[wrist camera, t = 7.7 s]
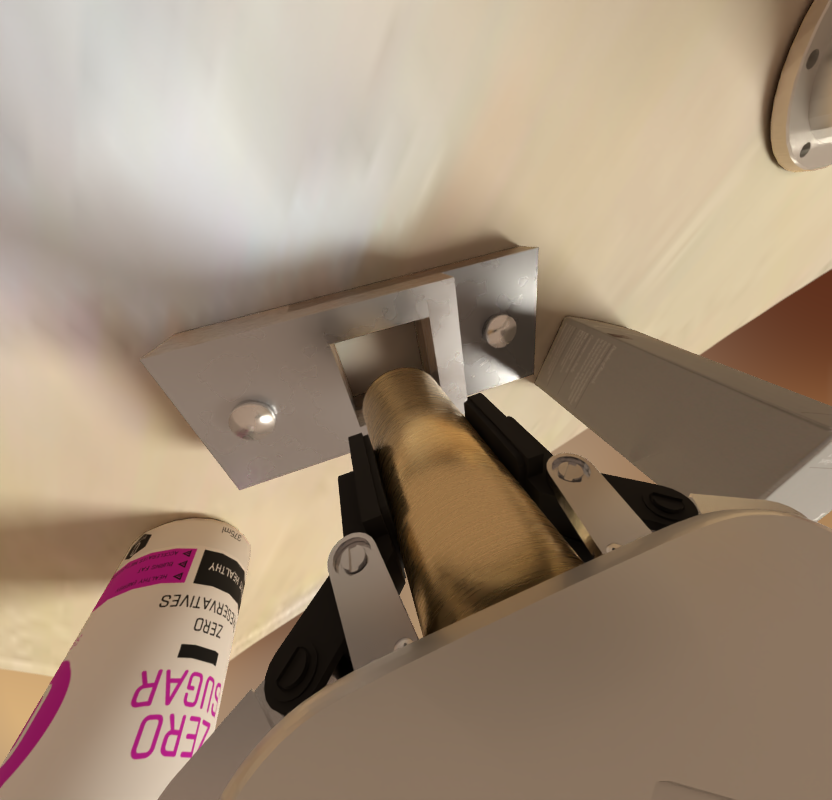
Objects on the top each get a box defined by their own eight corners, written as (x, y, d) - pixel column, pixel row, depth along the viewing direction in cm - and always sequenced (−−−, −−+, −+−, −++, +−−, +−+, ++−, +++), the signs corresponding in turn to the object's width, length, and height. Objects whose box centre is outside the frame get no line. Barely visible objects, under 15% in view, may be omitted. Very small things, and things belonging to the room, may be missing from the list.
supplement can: (121, 574, 24) (-100, 961, 11) (151, 502, 21) (-84, 887, 9) (231, 581, 27) (161, 873, 15) (267, 522, 25) (219, 807, 13)
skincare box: (631, 328, 26) (947, 425, 13) (592, 398, 29) (817, 533, 16) (559, 311, 23) (874, 417, 10) (525, 391, 26) (733, 551, 13)
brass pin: (434, 357, 14) (615, 544, 6) (445, 423, 16) (587, 630, 8) (351, 382, 13) (416, 635, 5) (374, 447, 15) (445, 701, 7)
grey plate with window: (519, 246, 20) (568, 249, 16) (519, 364, 25) (556, 388, 21) (174, 333, 17) (132, 364, 13) (251, 450, 21) (237, 497, 18)
